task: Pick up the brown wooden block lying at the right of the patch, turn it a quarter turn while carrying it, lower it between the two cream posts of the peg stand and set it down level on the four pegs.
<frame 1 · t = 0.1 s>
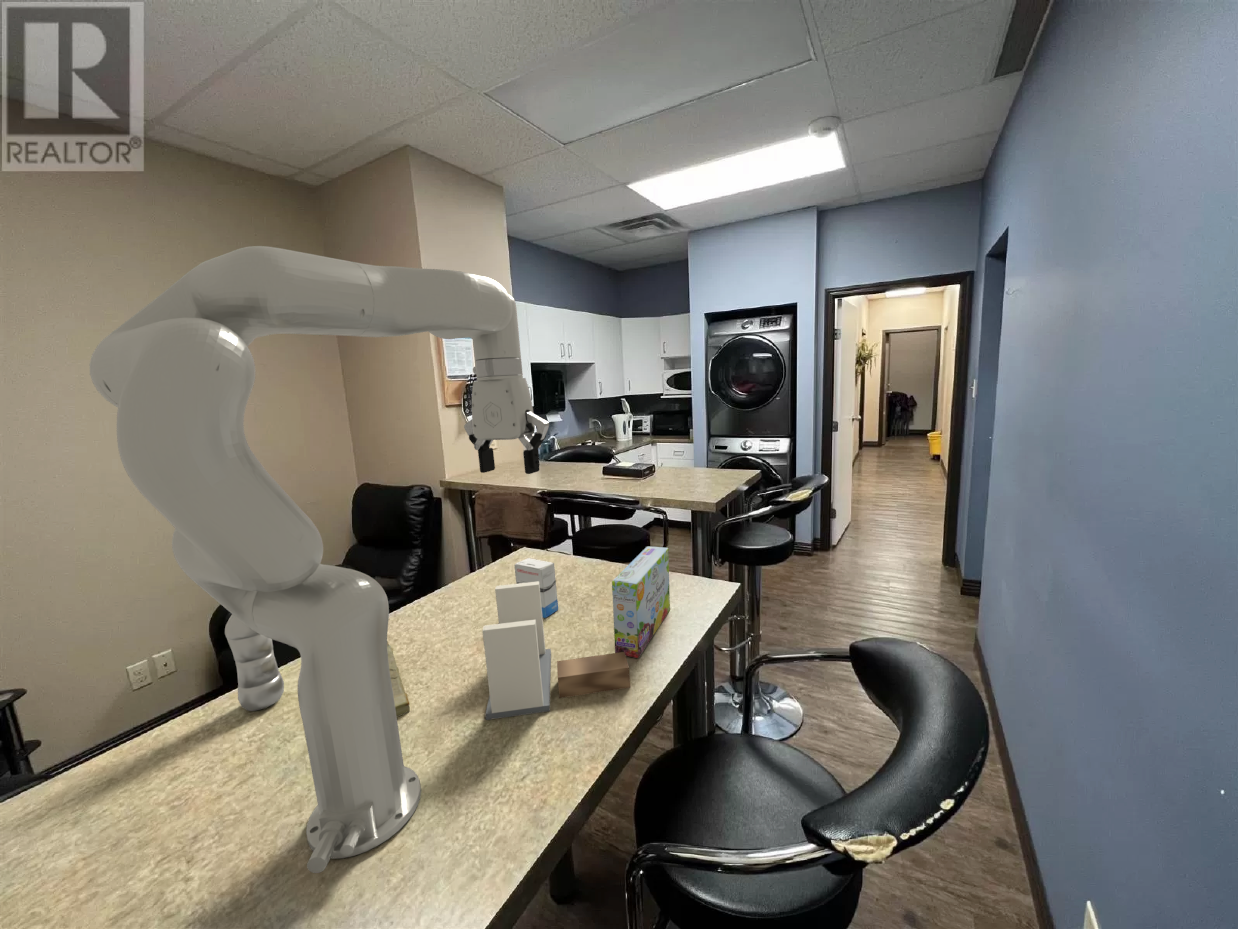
hand: (509, 471, 83), 37 cm above the table, tool pointing down, fingers open, 9 cm apart
stone slab: (362, 685, 88), on the table
plastic bottle: (264, 705, 83), on the table
stand: (522, 683, 84), on the table
brown wooden block: (593, 685, 83), on the table
ink box: (538, 611, 112), on the table
snack box: (645, 631, 100), on the table
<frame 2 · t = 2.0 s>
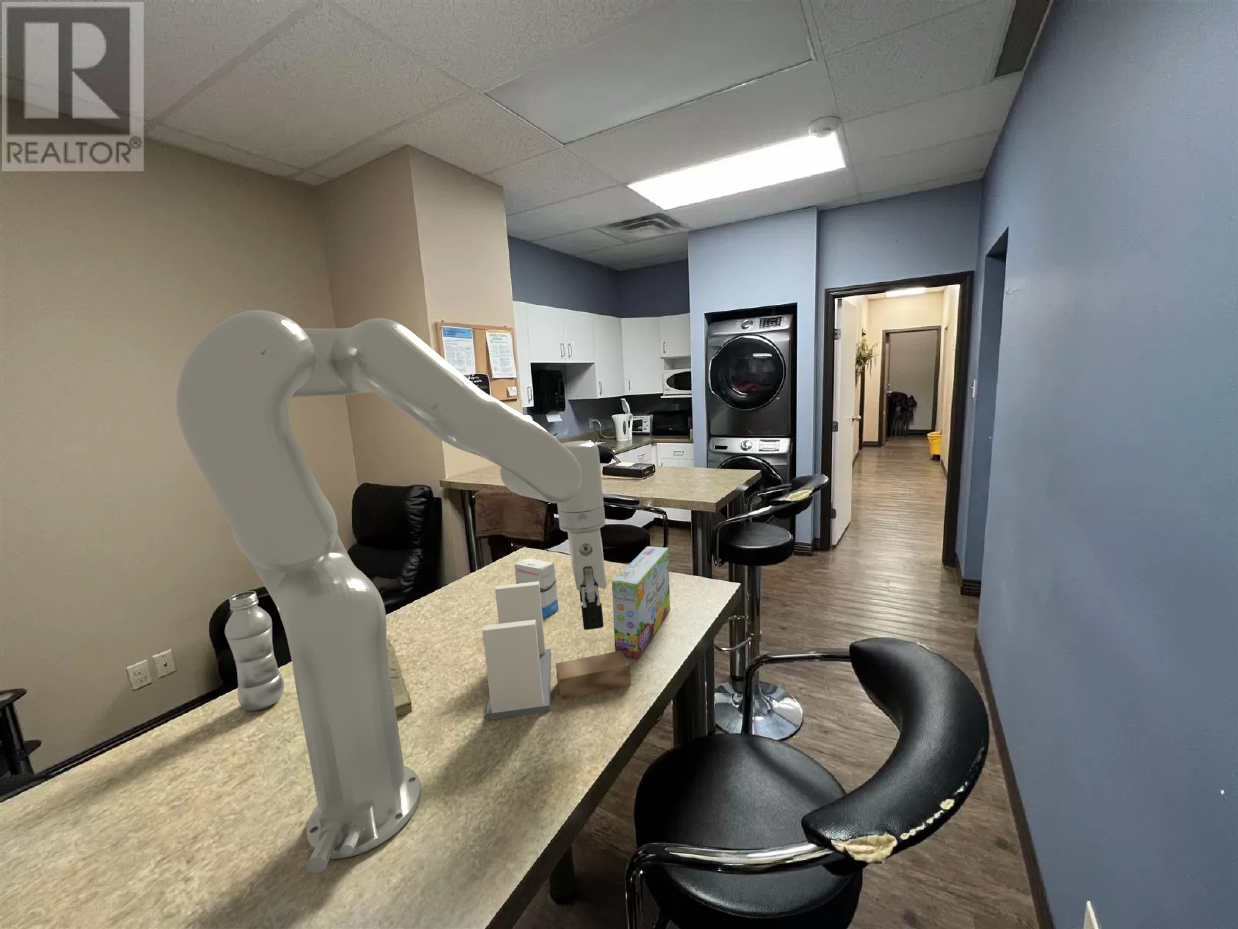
hand: (591, 613, 81), 13 cm above the table, tool pointing down, fingers open, 9 cm apart
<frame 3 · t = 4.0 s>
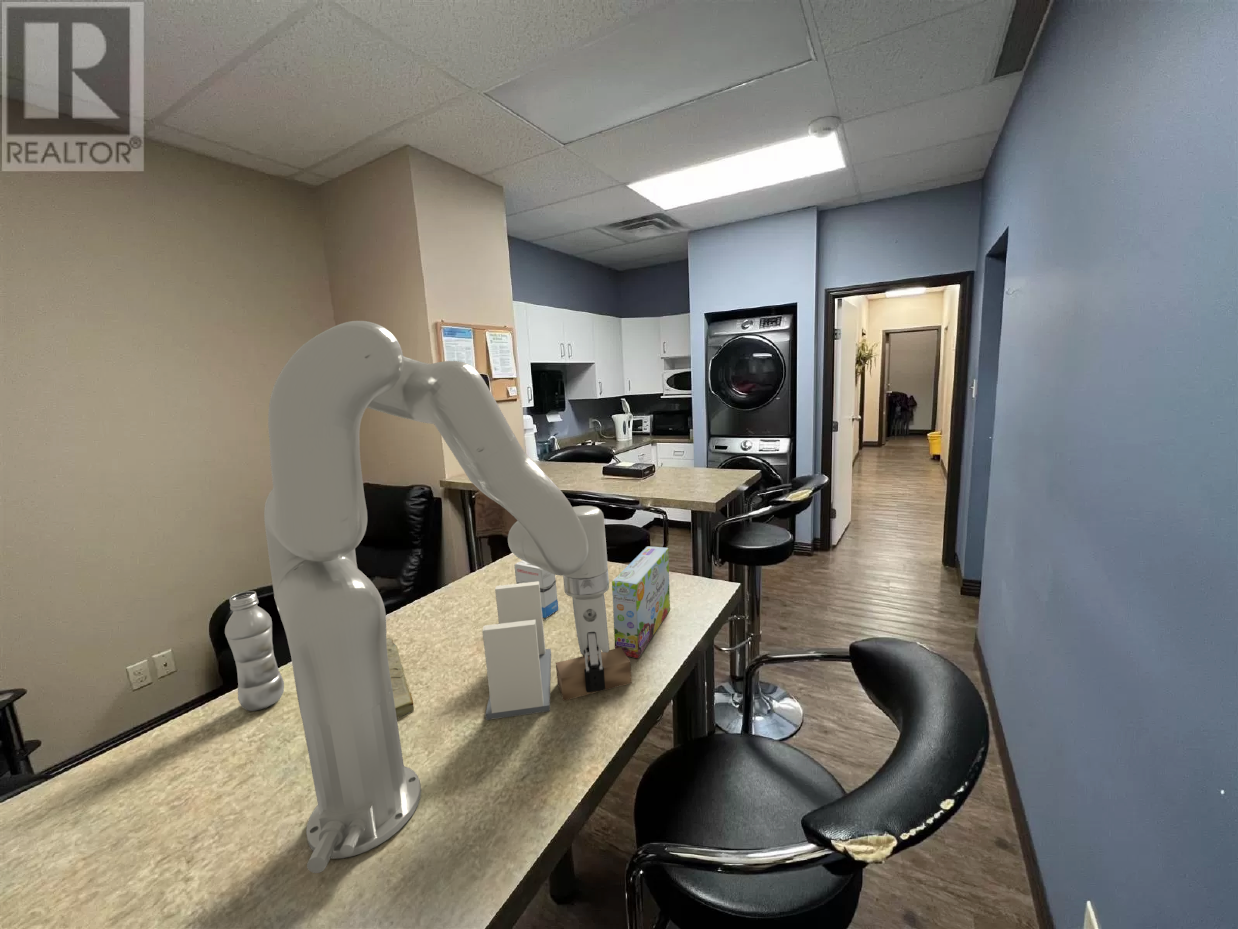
hand: (594, 678, 83), 1 cm above the table, tool pointing down, fingers closed on brown wooden block, 5 cm apart
brown wooden block: (594, 683, 83), on the table, touching gripper
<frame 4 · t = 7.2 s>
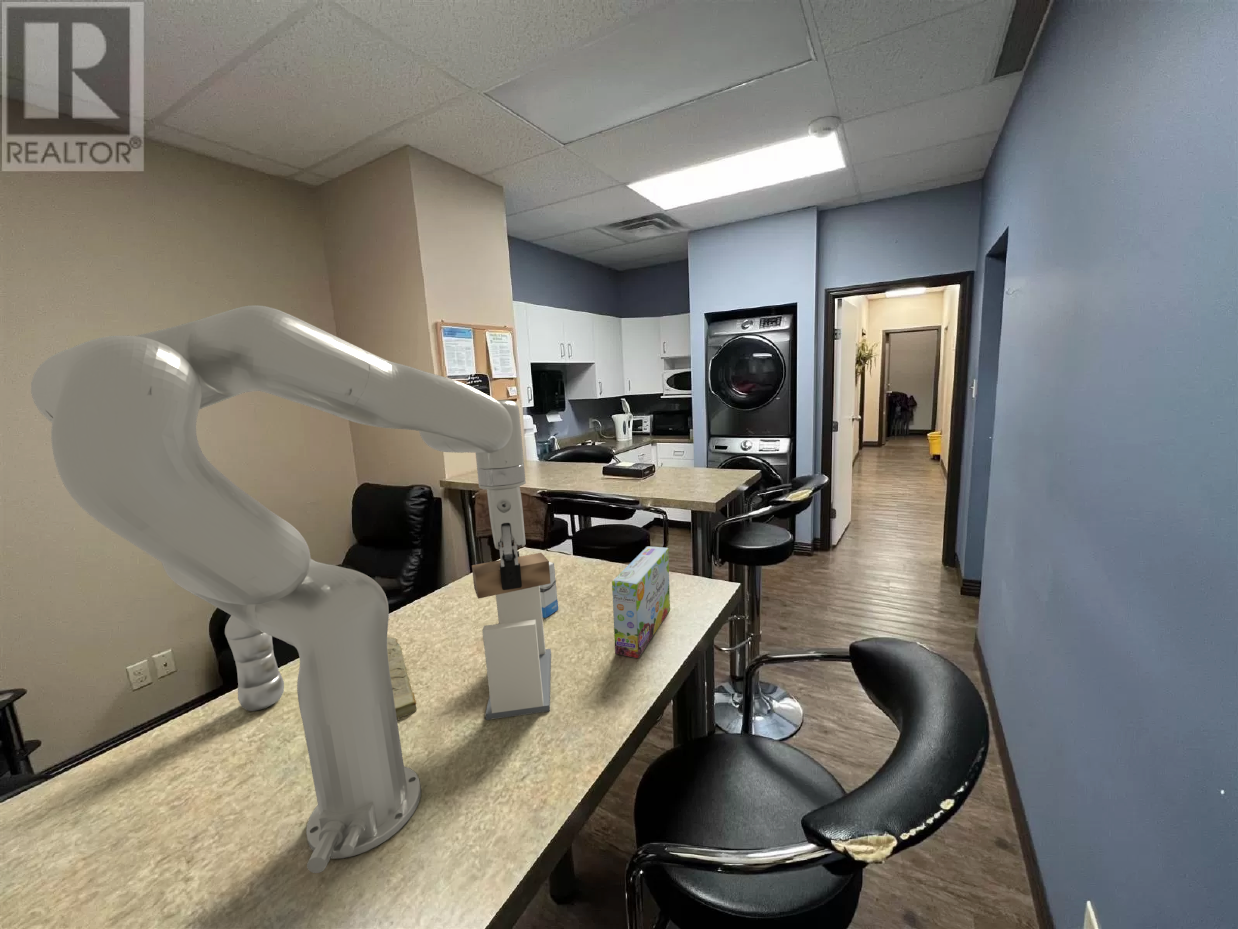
hand: (511, 580, 81), 19 cm above the table, tool pointing down, fingers closed on brown wooden block, 5 cm apart
brown wooden block: (512, 585, 81), point 18 cm above the table, touching gripper
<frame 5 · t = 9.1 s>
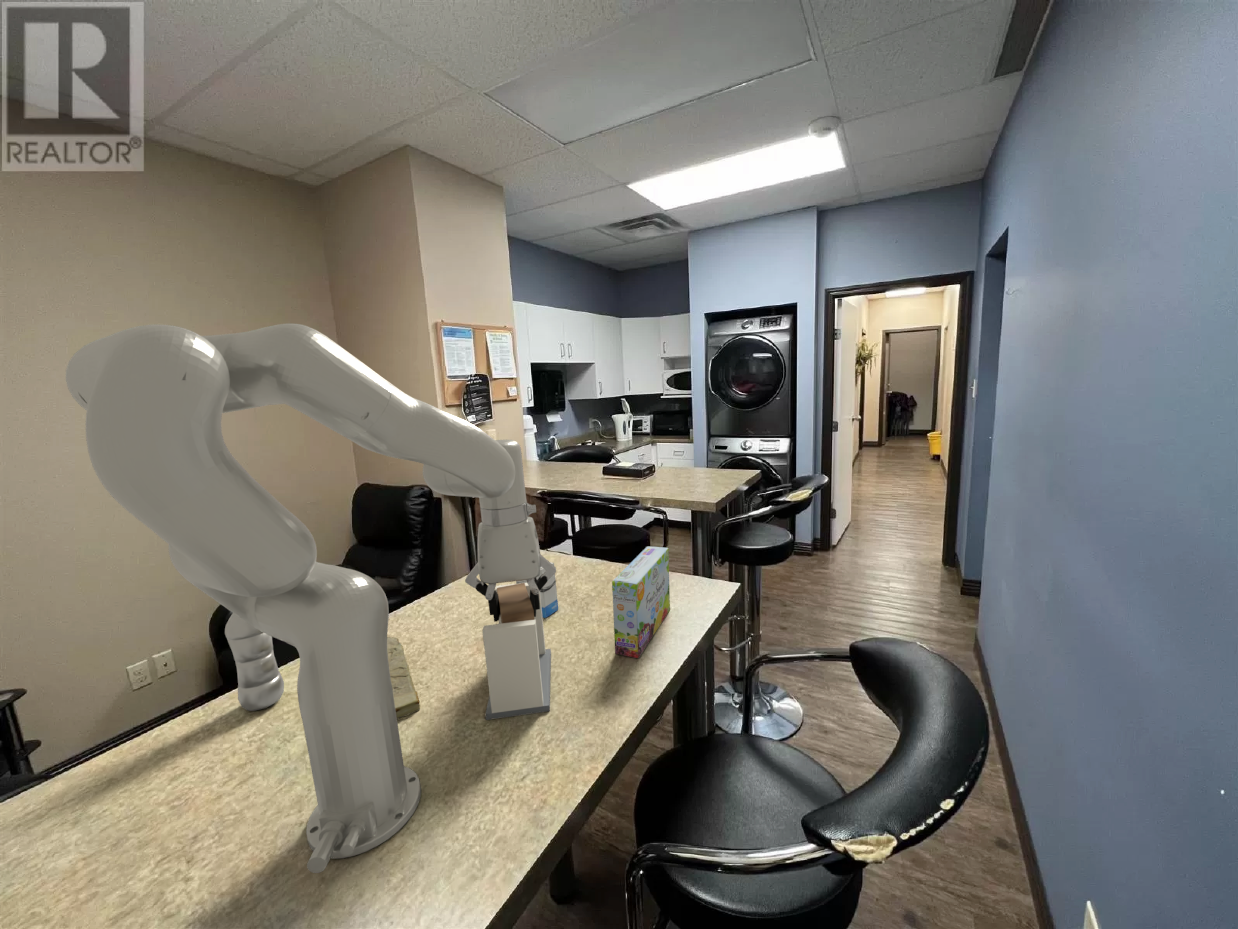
hand: (515, 614, 83), 13 cm above the table, tool pointing down, fingers closed on brown wooden block, 5 cm apart
brown wooden block: (516, 620, 83), point 12 cm above the table, touching gripper
when the fingers open (10 cm above the table, at t = 10.5 s): brown wooden block stays where it is, resting on stand.
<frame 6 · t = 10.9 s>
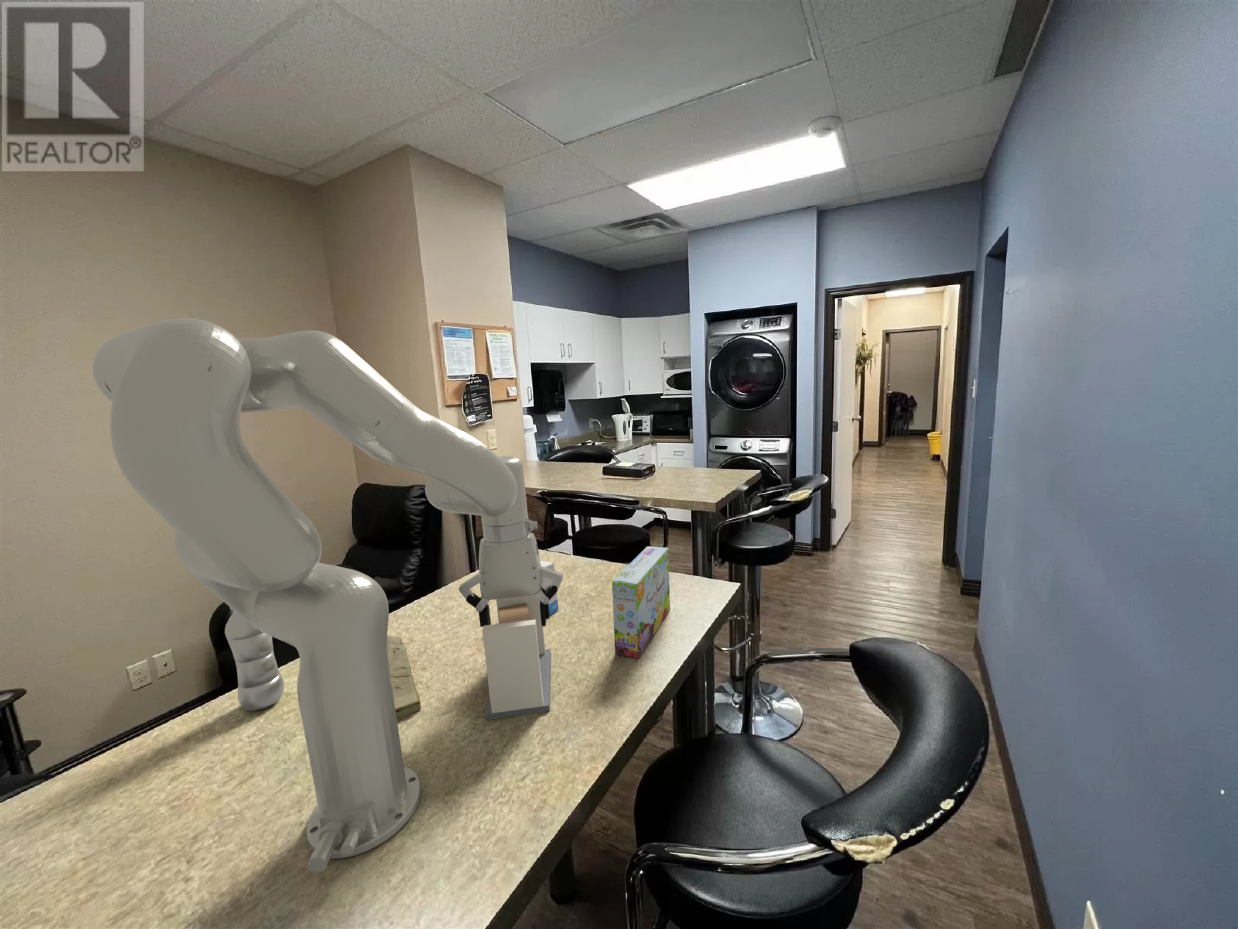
hand: (516, 626, 83), 11 cm above the table, tool pointing down, fingers open, 9 cm apart
brown wooden block: (517, 641, 83), point 8 cm above the table, touching stand
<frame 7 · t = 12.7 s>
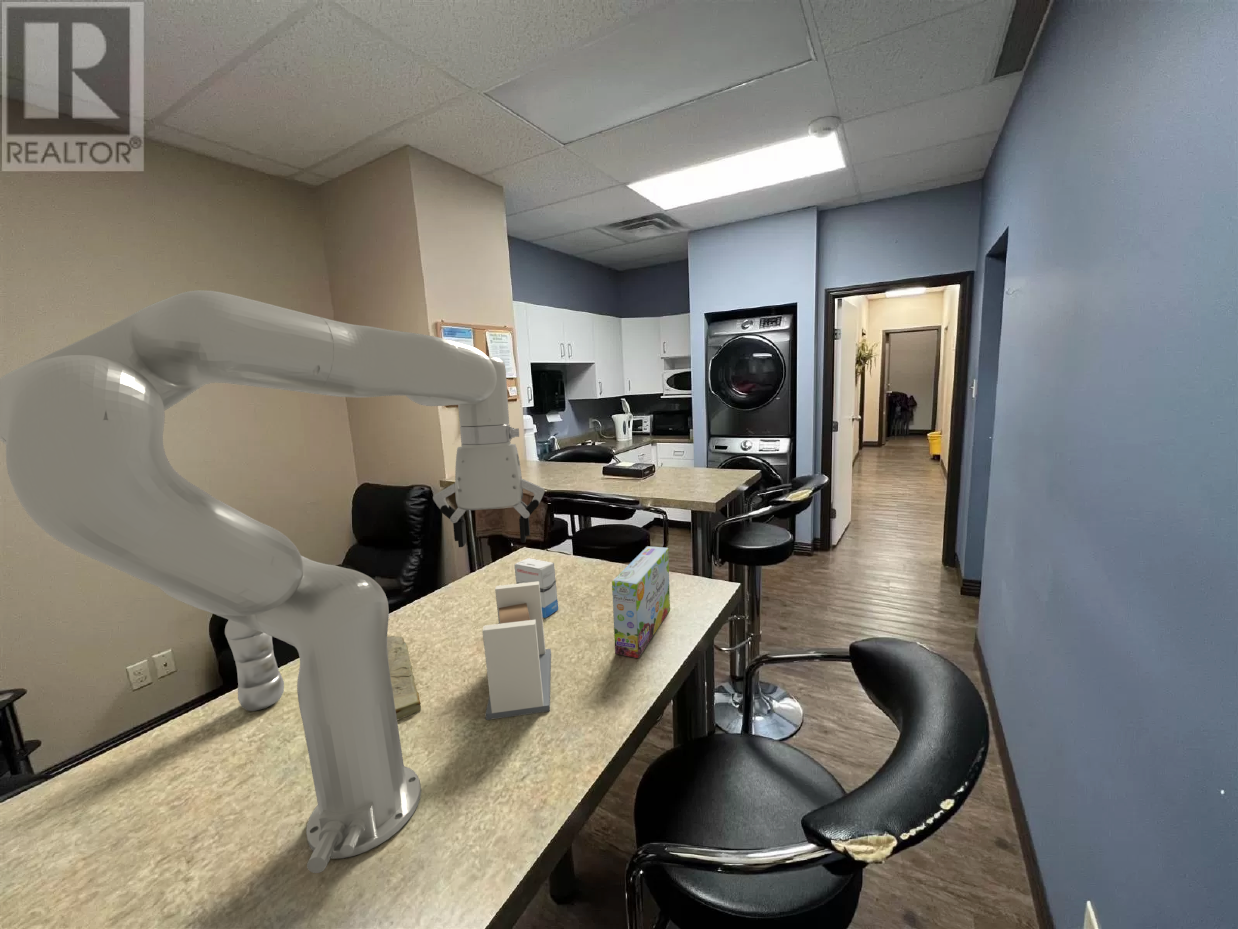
hand: (493, 542, 77), 27 cm above the table, tool pointing down, fingers open, 9 cm apart
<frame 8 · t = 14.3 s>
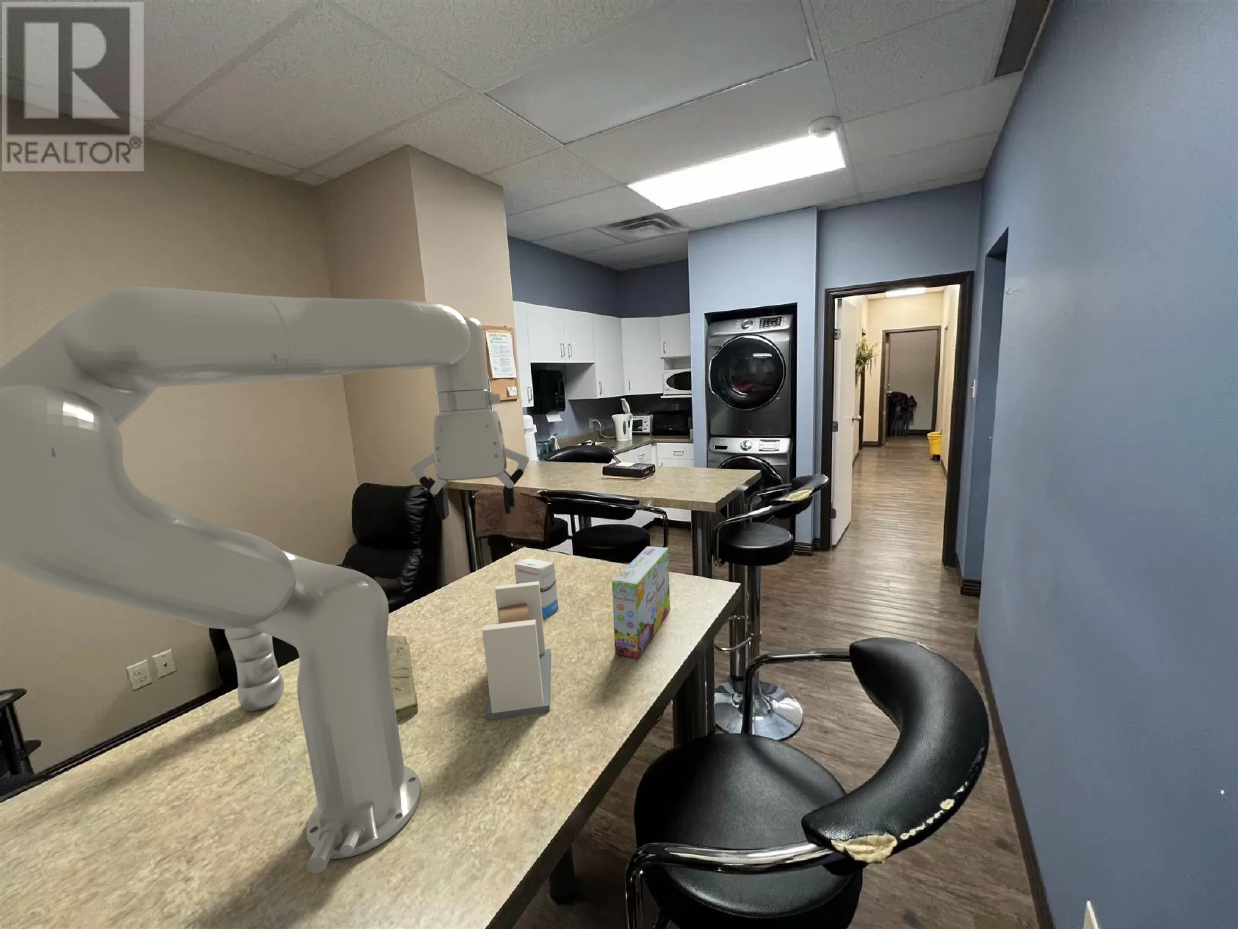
hand: (477, 514, 74), 32 cm above the table, tool pointing down, fingers open, 9 cm apart
at the end: brown wooden block 0.1 cm off-centre on the stand, point 8.0 cm above the stand's base; brown wooden block tilted 0°; the gripper is holding nothing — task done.
